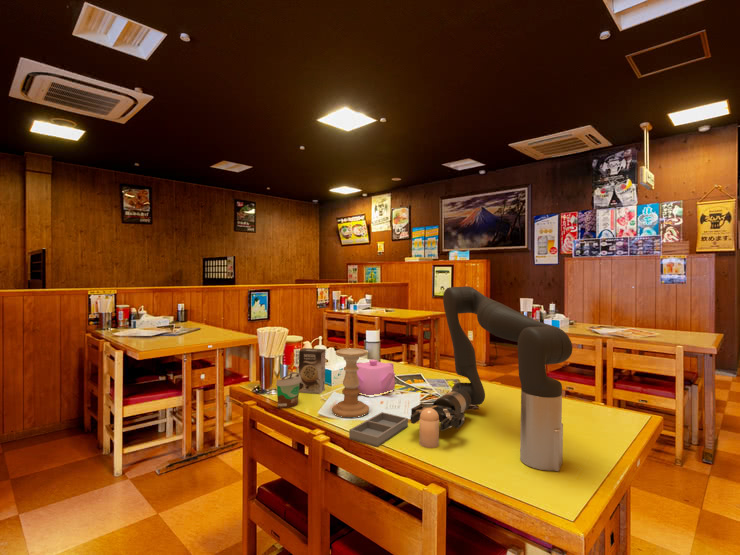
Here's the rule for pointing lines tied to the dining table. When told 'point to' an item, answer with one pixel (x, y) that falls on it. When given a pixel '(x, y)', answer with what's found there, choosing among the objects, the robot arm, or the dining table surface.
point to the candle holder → (350, 385)
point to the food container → (288, 390)
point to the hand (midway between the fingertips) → (426, 423)
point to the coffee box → (312, 370)
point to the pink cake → (375, 377)
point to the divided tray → (378, 429)
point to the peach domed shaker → (429, 428)
